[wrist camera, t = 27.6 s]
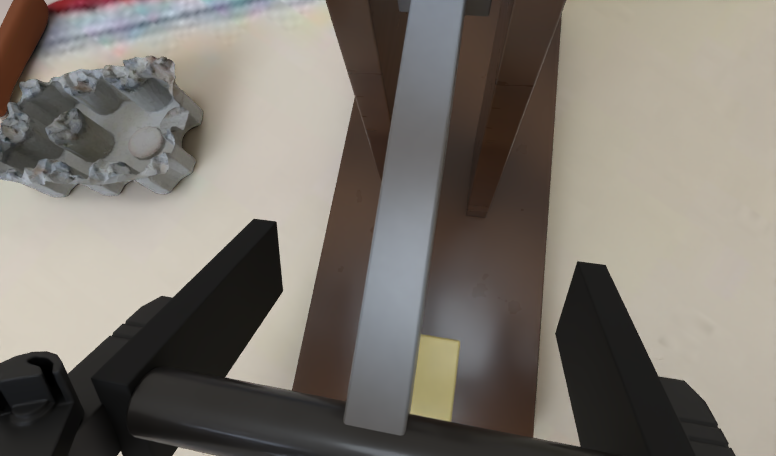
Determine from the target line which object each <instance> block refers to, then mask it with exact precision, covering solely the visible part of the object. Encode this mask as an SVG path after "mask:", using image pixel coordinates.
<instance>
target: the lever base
mask: <svg viewBox="0 0 776 456" xmlns="http://www.w3.org/2000/svg"><path fill="white" fill-rule="evenodd" d="M565 2H566V0H492V2H491V8H490V14H489V16H471V15H465V18H464V25H463V32H462V40H461V47H460V54H459V61H458V69H457V76H456V83H455V90H454V98H453V105H452V112H451V120H450V127H449V134H448V141H447V149H446V156H445V163H444V170H443V178H442V185H441V192H440V200H439V207H438V214H437V221H436V229H435V236H434V243H433V251H432V258H431V265H430V272H429V280H428V287H427V294H426V301H425V309H424V316H423V323H422V331H421V334H423V335H429V336H435V337H441V338H447V339H454V340H459V341H460V350H459V359H458V368H457V376H456V385H455V394H454V402H453V411H452V419H451V422H455V423H460V424H465V425H470V426H475V427H480V428H485V429H490V430H496V431H501V432H506V433H511V434H516V435H521V436H526V437H531V438H533V433H534V418H535V403H536V388H537V373H538V359H539V344H540V329H541V314H542V299H543V284H544V270H545V255H546V240H547V225H548V210H549V195H550V181H551V166H552V151H553V136H554V121H555V106H556V92H557V77H558V62H559V47H560V32H561V17H562V10H563V8H564V5H565ZM326 3H327V7H328V10H329V13H330V16H331V20H332V23H333V26H334V30H335V33H336V36H337V39H338V43H339V46H340V49H341V52H342V56H343V59H344V62H345V65H346V69H347V72H348V75H349V78H350V82H351V85H352V88H353V91H354V95H355V99H354V104H353V108H352V113H351V118H350V122H349V127H348V132H347V136H346V141H345V146H344V150H343V155H342V160H341V164H340V169H339V174H338V178H337V183H336V188H335V192H334V197H333V202H332V206H331V211H330V216H329V220H328V225H327V229H326V234H325V239H324V243H323V248H322V253H321V257H320V262H319V267H318V271H317V276H316V281H315V285H314V290H313V295H312V299H311V304H310V309H309V313H308V318H307V323H306V327H305V332H304V337H303V341H302V346H301V351H300V355H299V360H298V365H297V369H296V374H295V379H294V383H293V388H292V391H296V392H301V393H306V394H311V395H316V396H322V397H327V398H332V399H337V400H342V401H346V400H347V393H348V387H349V381H350V375H351V369H352V362H353V356H354V350H355V344H356V337H357V331H358V325H359V319H360V313H361V306H362V300H363V294H364V288H365V282H366V275H367V269H368V263H369V257H370V251H371V244H372V238H373V232H374V226H375V219H376V213H377V207H378V201H379V195H380V188H381V182H382V176H383V170H384V164H385V157H386V151H387V145H388V139H389V133H390V126H391V120H392V114H393V108H394V102H395V95H396V89H397V83H398V77H399V70H400V64H401V58H402V52H403V46H404V39H405V33H406V27H407V21H408V15H409V12H400V11H399V6H398V0H326Z"/></svg>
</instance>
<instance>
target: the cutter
mask: <svg viewBox="0 0 776 456" xmlns="http://www.w3.org/2000/svg"><path fill="white" fill-rule="evenodd" d="M491 2H492V0H398V6H399V11H400V12H409V15H408V21H407V27H406V33H405V39H404V46H403V52H402V58H401V64H400V70H399V77H398V83H397V89H396V95H395V102H394V108H393V114H392V120H391V126H390V133H389V139H388V145H387V151H386V157H385V164H384V170H383V176H382V182H381V188H380V195H379V201H378V207H377V213H376V219H375V226H374V232H373V238H372V244H371V251H370V257H369V263H368V269H367V275H366V282H365V288H364V294H363V300H362V306H361V313H360V319H359V325H358V331H357V337H356V344H355V350H354V356H353V362H352V369H351V375H350V381H349V387H348V393H347V400H346V401H342V400H337V399H332V398H327V397H322V396H316V395H311V394H306V393H301V392H296V391H291V390H286V389H281V388H276V387H270V386H265V385H260V384H255V383H250V382H245V381H240V380H235V379H229V378H224V377H219V376H214V375H209V374H204V373H199V372H194V371H188V370H183V369H178V368H173V367H168V366H161V367H157V368H155V369H153V370H151V371H150V372H148V373H147V374H146V375H145V376H144V377H143V378H142V379H141V381H140V382H139V383H138V385H137V386H136V388H135V390H134V392H133V394H132V396H131V398H130V401H129V404H128V407H127V412H126V426H127V429H128V431H129V432H130V433H131V434H132V435H133V436H134V437H136V438H140V439H145V440H149V441H154V442H158V443H162V444H167V445H171V446H176V447H180V448H185V449H189V450H193V451H198V452H202V453H207V454H211V455H216V456H624V455H618V454H613V453H608V452H603V451H598V450H593V449H588V448H583V447H578V446H572V445H567V444H562V443H557V442H552V441H547V440H542V439H537V438H531V437H526V436H521V435H516V434H511V433H506V432H501V431H496V430H490V429H485V428H480V427H475V426H470V425H465V424H460V423H455V422H450V421H444V420H439V419H434V418H429V417H424V416H419V415H414V414H410V411H411V403H412V396H413V389H414V381H415V374H416V367H417V360H418V352H419V345H420V338H421V331H422V323H423V316H424V309H425V301H426V294H427V287H428V280H429V272H430V265H431V258H432V251H433V243H434V236H435V229H436V221H437V214H438V207H439V200H440V192H441V185H442V178H443V170H444V163H445V156H446V149H447V141H448V134H449V127H450V120H451V112H452V105H453V98H454V90H455V83H456V76H457V69H458V61H459V54H460V47H461V40H462V32H463V25H464V18H465V15H471V16H489V14H490V8H491Z"/></svg>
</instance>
